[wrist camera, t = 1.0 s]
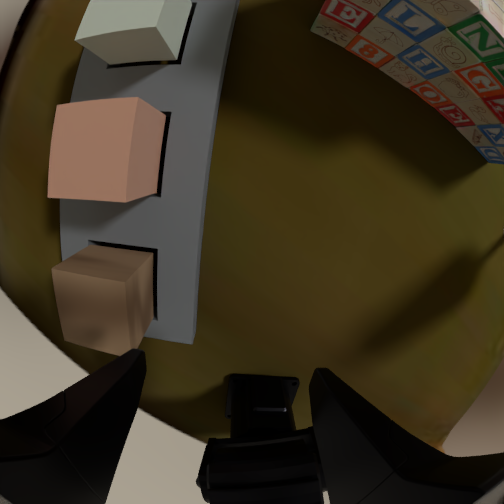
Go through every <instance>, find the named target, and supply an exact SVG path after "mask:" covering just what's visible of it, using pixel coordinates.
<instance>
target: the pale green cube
mask: <svg viewBox="0 0 504 504" xmlns="http://www.w3.org/2000/svg"><path fill="white" fill-rule="evenodd" d="M191 6H192V3H191V0H91V1H90V3H89V5H88V8H87V10H86V12H85V14H84V17H83V19H82V22H81V24H80V27H79V29H78V32H77V35H76V38H75V41H76V42H78V43H79V44H81V45H82V46H84V47H85V48H87V49H88V50H90V51H91V52H93V53H94V54H96V55H97V56H99V57H100V58H101V59H103V60H104V61H106V62H107V63H108V64H110V65H111V64H119V63H129V62H141V61H160V60H177V58H178V54H179V50H180V45H181V42H182V38H183V34H184V30H185V27H186V23H187V20H188V16H189V13H190V10H191Z"/></svg>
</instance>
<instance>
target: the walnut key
mask: <svg viewBox="0 0 504 504" xmlns="http://www.w3.org/2000/svg"><path fill="white" fill-rule="evenodd" d="M51 269H52V277H53V284H54V291H55V297H56V303H57V308H58V313H59V318H60V323H61V327H62V332H63V336H64V340H65V341H68V342H71V343H74V344H77V345H81V346H84V347H88V348H91V349H95V350H98V351H102V352H106V353H110V354H114V355H118V356H121V355H122V354H124V353H126V352H127V351H129V350H130V349H132V348H136V349H137V348H138V346H139V344H140V342H141V340H142V338H143V336H144V334H145V333H146V331H147V329H148V327H149V325H150V323H151V321H152V319H153V253H150V252H142V251H135V250H127V249H120V248H112V247H105V246H97V245H89V246H87V247H86V248H84V249H82V250H80V251H79V252H77V253H75V254H74V255H72V256H71V257H69V258H67V259H66V260H64V261H62V262H61V263H59V264H58V265H56V266H54V267H53V268H51Z"/></svg>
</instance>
